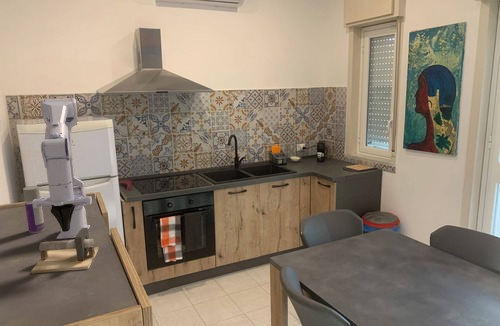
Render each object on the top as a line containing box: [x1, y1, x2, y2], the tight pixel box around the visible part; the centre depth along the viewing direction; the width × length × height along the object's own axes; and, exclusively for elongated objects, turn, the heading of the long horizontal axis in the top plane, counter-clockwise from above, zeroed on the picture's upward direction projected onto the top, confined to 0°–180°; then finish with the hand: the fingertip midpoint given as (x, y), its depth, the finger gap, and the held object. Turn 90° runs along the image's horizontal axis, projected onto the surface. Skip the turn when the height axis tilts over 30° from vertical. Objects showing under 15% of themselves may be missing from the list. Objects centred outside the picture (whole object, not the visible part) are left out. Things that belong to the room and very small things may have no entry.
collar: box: [74, 228, 90, 261], centre depth 103 cm, size 7×2×7 cm, turn 9°
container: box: [22, 185, 46, 234], centre depth 122 cm, size 5×5×15 cm
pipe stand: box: [31, 238, 100, 275], centre depth 102 cm, size 12×14×6 cm
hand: (66, 230), depth 101 cm, fingers closed
